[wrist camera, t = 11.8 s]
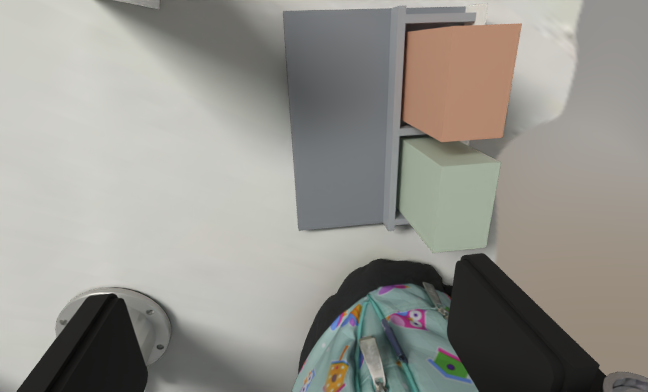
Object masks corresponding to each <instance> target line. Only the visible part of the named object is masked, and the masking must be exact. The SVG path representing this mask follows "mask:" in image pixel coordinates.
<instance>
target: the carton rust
mask: <svg viewBox="0 0 648 392" xmlns="http://www.w3.org/2000/svg"><path fill="white" fill-rule="evenodd" d="M521 25H522V24H497V25H469V26H450V27H442V28H434V29H426V30H418V31H410V32H405V41H404V60H403V79H402V97H401V116H400V119H401V120H402V121H404V122H406V123H408V124H410V125H411V126H413V127H415V128H417V129H419V130H420V131H422V132H424V133H426V134H428V135H429V136H431V137H433V138H435V139H437V140H438V141H440V142H451V141H465V140H478V139H492V138H503V132H504V126H505V120H506V114H507V108H508V102H509V96H510V90H511V85H512V79H513V73H514V67H515V61H516V55H517V49H518V43H519V37H520V31H521Z"/></svg>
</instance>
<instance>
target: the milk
mask: <svg viewBox="0 0 648 392" xmlns="http://www.w3.org/2000/svg"><path fill="white" fill-rule="evenodd" d="M115 1H120V2H125V3H130V4H135V5H140V6H144V7H149V8H154V9H160V0H115Z"/></svg>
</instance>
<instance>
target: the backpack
mask: <svg viewBox="0 0 648 392" xmlns="http://www.w3.org/2000/svg"><path fill="white" fill-rule="evenodd" d="M452 288H453V286H450V285H444V284H443V283H442V279H441V277H440V276H439V275H438V273H437V272H436V271H435V269H434V268H433V267H431V266H430V265H428V264H424V265H423V264H421V263H412V262H409V261H386V260H384V259H377V260H374V261H372V262H370V263H369V264H367V265H366V266H364V267H360V268H358V269H356V270H355V271H353V272H352V273H351V274H349V275H348V276H347V277H346V279H345V280H344V282H343V283H342V285H341V286H340V288H339V290H338V292H337V293H336V294H335V295H333V296H331V297H329V298H328V299H327V300H326V301H325V303H324V304H323V306H322V307H321V308H320V310H319V311H318V313H317V315H316V317H315V319H314V322H313V324H312V326H311V328H310V331H309V333H308V335H307V338H306V340H305V343H304V346H303V349H302V352H301V357H300V362H299V369H298V377H297V379H296V381H295V384H294V386H293V389H292V392H479V391H478V389H477V388H476V386H475V384H474V383H473V381H472V379H471V378H470V376H469V374H468V373H467V371H466V369H465V368H464V366H463V364H462V363H461V361H460V359H459V358H458V356H457V354H456V353H455V351H454V349H453V348H452V346H451V344H450V342H449V340H448V337H447V324H448V317H449V310H450V303H451V296H452Z"/></svg>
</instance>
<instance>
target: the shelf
mask: <svg viewBox="0 0 648 392" xmlns="http://www.w3.org/2000/svg"><path fill="white" fill-rule="evenodd" d="M487 9H488V4H476V5H471V6H467V7H431V8H406V6H397V7H394V8H390V9H349V10H308V11H283V21H284V35H285V49H286V63H287V77H288V91H289V105H290V119H291V134H292V148H293V162H294V176H295V190H296V204H297V218H298V228H299V231H301V230H312V229H323V228H333V227H344V226H354V225H365V224H376V223H384V225H385V227H386V228H387V230H388V231H394V228H395V225H403V224H410V223H409V222H408V221H407V220H406V218H405V217H404V216H403V214H402V213H401V212H400V211H399V209H398V208H397V207H396V196H397V178H398V159H399V141H400V137H410V136H425V135H428V134H426V133H424V132H422V131H420V130H419V129H417V128H415V127H413V126H411V125H410V124H408V123H406V122H404V121H402V120H401V119H400V116H401V97H402V79H403V60H404V41H405V32H410V31H418V30H426V29H434V28H442V27H450V26H469V25H485V24H486V16H487ZM460 142H462V143H464V144H466V145H468V146H469V142H470V140H465V141H460Z"/></svg>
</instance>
